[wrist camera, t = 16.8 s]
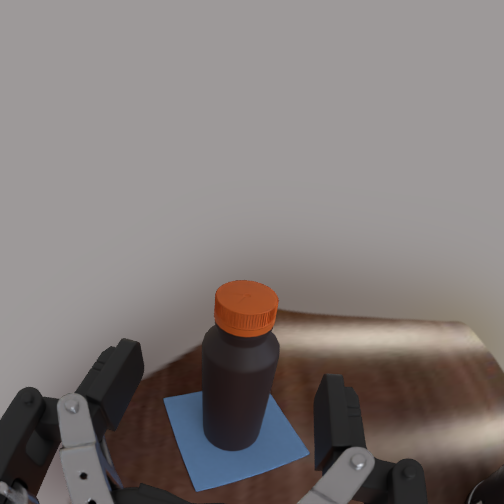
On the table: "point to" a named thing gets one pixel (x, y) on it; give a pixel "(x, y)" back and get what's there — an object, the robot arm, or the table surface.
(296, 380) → the table surface
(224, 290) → the bottle
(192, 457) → the blue mat
